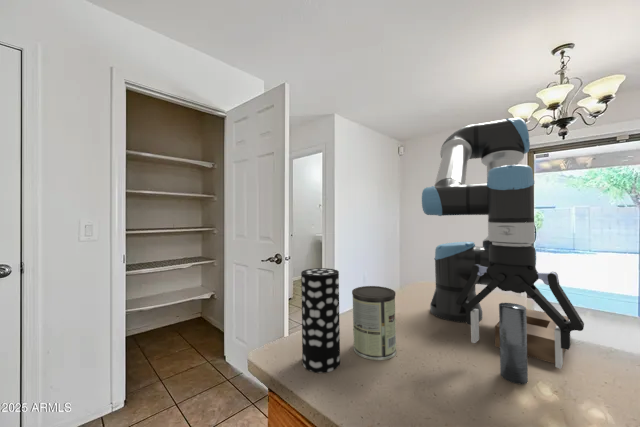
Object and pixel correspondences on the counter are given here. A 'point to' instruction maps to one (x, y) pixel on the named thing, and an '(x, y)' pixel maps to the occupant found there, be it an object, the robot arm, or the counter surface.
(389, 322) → the coffee can
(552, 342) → the socket block
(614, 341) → the counter surface
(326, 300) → the spotted tube
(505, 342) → the peg
